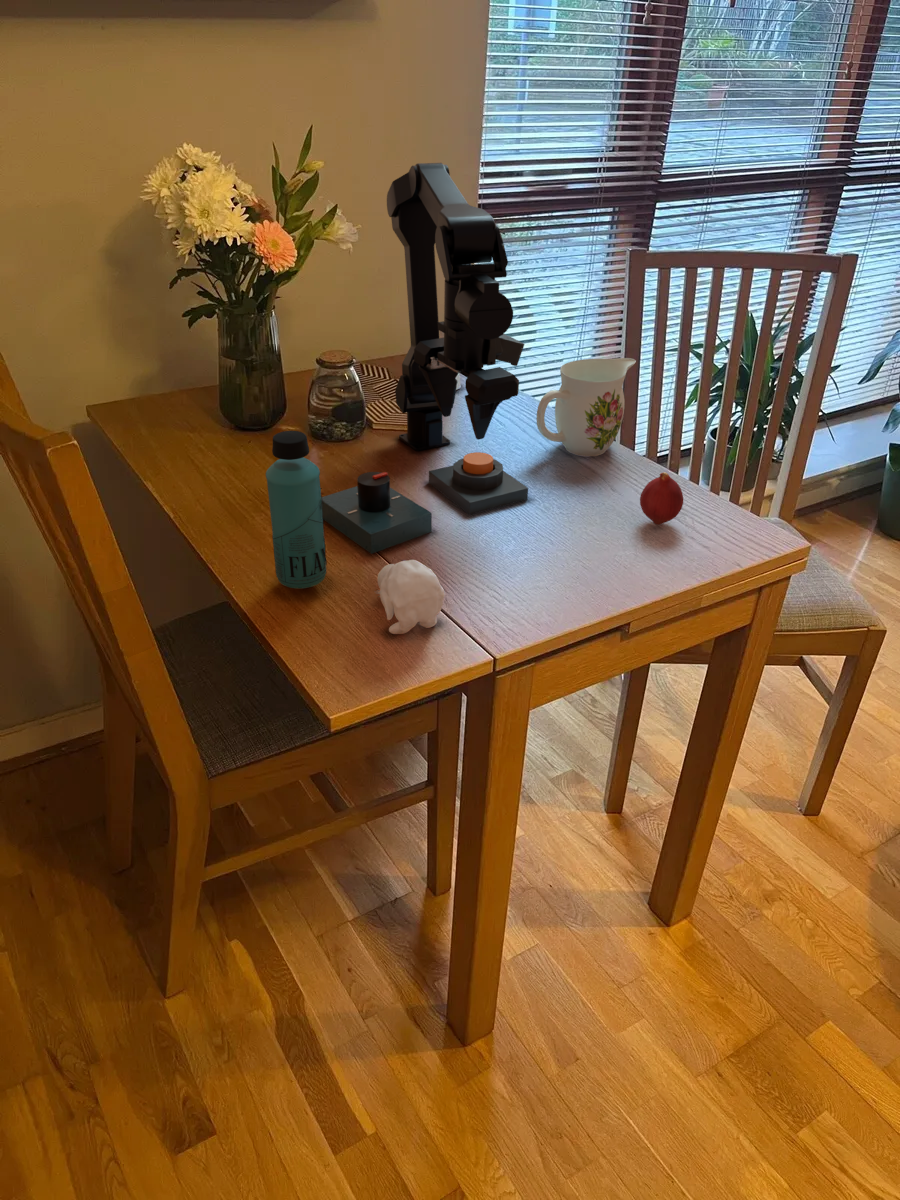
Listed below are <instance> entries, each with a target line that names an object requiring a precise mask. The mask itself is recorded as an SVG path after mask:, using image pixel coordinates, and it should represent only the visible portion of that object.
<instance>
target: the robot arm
mask: <svg viewBox="0 0 900 1200" xmlns="http://www.w3.org/2000/svg"><path fill="white" fill-rule="evenodd" d="M450 174H451V173H450V169H449V166H448V165H447V164H443V163H442V162H422V163H421V162H419V163H416V164H415V165H411V166H410V167H409V170H408V172H406V173H404V174H403V175H400V176H399V177H398V178H396V179H394V180H393V181H392V182H391V184H390V186H389V189H388V191H387V194H386V210H387V214H388V217H389V218H391V228H392V230H393V232H394V234H395V235H396V237H397V238H398V240H399V242H400V243H401V245H402V246H403V249H404V263H405V277H406V279H405V280H406V293H407V306H408V307H407V309H408V322H409V339H410V347H409V348H408V350H407V353H406V355H405V357H404V359H403V361H402V363H401V371H402V372H401V373H402V374H401V375H400V376H399V379H398V382H397V384H396V387H395V391H394V394H395V403H396V405H397V407H398V408H399V409H400V411H401V413H402V414H406V429H407V430H406V432H405V433H402V434H399V435H398V439H399V440H401V441H402V442H403V443H405V444H406V445H407V446H409V447H410V448H411V449H413V450H414V451H416V452H421V451H425V450H430V449H434V448H439V447H442V446H447V445H451V440H450V439H449V438H447V437H446V436H444V435H443V430H444V429H443V425H444V424H443V418H447V417H450V416H451V415H452V409H454V404H455V399H456V393H457V390H456V387H457V380H456V379H455V378H456V376H457V375H458V373H460V375H462V376H464V377H465V378H466V379H465V385H464V386H465V387H464V388H465V390H466V395H464V399H465V404H466V408H467V411H468V415H469V418H470V423H471V426H472V429H473V430H472V431H473V433H474V437H475V439H476V440H482V439H484V438H485V436H486V434H487V431H488V429H489V426H490V424H491V422H492V419H493V416H494V414H495V413H496V410H497V408H498V407H499V405H500V404H501V403H502V402H504V401H508V400H511V398H512V397H517V396H519V389H520V380H519V378H518V377H517V376H516V375H514V374H513V373H511V372H510V371H508V370H506V369H504V368H502V367H501V366H498V367H492V368H487V369H484V366H488V367H489V366H494V365H496V362H497V361H499V362H502V363H503V362H504V363H508V364H510V365H511V366H512V367H513V366H514V367H517V366H518V365H519V361H520V359H521V356H522V353H523V350H524V348H525V343H524V342H521V340H518V339H516V338H514V337H512V336H509V335H507V334H505V333H506V332H508V330H509V329H510V327H511V326H512V323H513V318H514V310H513V307H512V303H511V301H510V300H509V299H508V297H506V295H504V294H503V293H502V292H501V291H500V282H499V281H498V280H496V279H500V278H501V279H502V278H507V276H508V273H507V266H508V264H509V261H508V257H507V256H508V255H507V252H506V248H505V243H504V239H503V236H502V233H501V232H500V228H499V225H498V223H496V221H495V219H494V217H493V216H492V215H491V214H490V213H489V212H487V211H486V210H485V209H484V208H480V207H476V206H473V205H470V204H469V202H467V199H466V198H465V197H464V195H463V194H462V192H461V190H460V189H459V188H458V186H457V184H456V183H455V182H454V180H453V179H452V177H451V176H450ZM435 250H436V251H435ZM436 254H437V257H438V260H439V264H440V267H441V271H442V275H443V278H444V297H443V298H444V303H443V304H444V305H443V312H444V314H443V320H441V321H439V304H438V303H439V302H438V289H437V288H438V287H437V269H436ZM492 262H493V263H492ZM440 331H441V332H443V333H444V338H440Z"/></svg>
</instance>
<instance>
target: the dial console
mask: <svg viewBox="0 0 900 1200" xmlns="http://www.w3.org/2000/svg"><path fill="white" fill-rule="evenodd" d="M321 499H322V500H323V501H322V500H321V502H322V503H323V504H322V505H323V508H322V516H323V515H324V516H323V519H324V520H323V521H324V522H326V523H327V524H329V525H330V526H332V527H333V528H335V529H336V530H337V531H338V532H340V533H342V535H344V536H346V537H347V538H349V539H350V540H351V541H353V542H354V543H356V544H357V545H359V546H360V547H361V548H362V549H364V550H366V551H367V552H368V553H369V554H371V555H373V554H374V553H378V552H381V551H384V550H386V549H388V548H391V547H394V546H396V545H397V546H398V545H399V544H400V545H401V544H402V543H405V542H409V541H410V540H413V539H417V538H418V537H422V536H424V535H426V534H430V533H432V530H433V529H432V527H433V522H432V520H433V519H432V517H433V516H432V513H433V512H431V511H429V510H428V509H427V508H424V507H423V506H421V505H419V504H418V503H417V502H415V501H413V500H411V499H410V498H408V497H406V496H405V495H403V494H402V493H401V492H399V491H397V490H395V489H394V488H392V487H390V507H389V508H388V509H386V510H384V511H381V512H367V511H364V510H362V509H360V508H359V506H358V486H357V485H356V486H353V487H350V488H346V489H344V490H341V491H337V492H334V493H330V494H328V495H325V496H322V498H321ZM323 511H324V512H323Z"/></svg>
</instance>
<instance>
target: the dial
mask: <svg viewBox="0 0 900 1200" xmlns="http://www.w3.org/2000/svg"><path fill="white" fill-rule="evenodd" d="M356 482H357V483H356V484H357V485H356V486H358V506H359V508H360V509H362V510H364V511H367V512H381V511H384V510H386V509H388V508H389V507H390V488H391V478H390V476H389V473H388V472H386V471H384V472H381V471H380V472H379V471H368V472H364V473H361V474H360V475H359V476H357V478H356Z"/></svg>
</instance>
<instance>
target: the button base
mask: <svg viewBox="0 0 900 1200" xmlns="http://www.w3.org/2000/svg"><path fill="white" fill-rule="evenodd" d="M428 484H429V485H430V486H432V487H434V489H436V490H438V491H439V492H440V493H441V494H442V495H443V496H445V497H446V498H447V499H449V500H450V501H451V502H452V503H453V504H455V505H456V506H458V507H459V508H460V509H461V510H463V511H464V512H465V513H466V514H467V515H470V516H471V515H474V514H477V513H478V514H479V513H482V512H486V511H490V510H493V509H499V508H502V507H505V506H509V505H513V504H517V503H521V502H524V501H528V496H529V487H528V486H526V485H525V484H523V483H522V482H521V481H519V480H518V479H516V478H514V477H513V476H512V475H510V474H509V473H507V472H506V471H504V465H503V463H501V462H500V461H499V460H497V459H494V458H493V471H492V472H491V473H487V474H472V473H468V472H465V471H464V470H463V458H460V459H458V460H457V461H455V462H454V463H453V464H452V465H449V466H445V467H440V468H436V469H432V470H429V471H428Z"/></svg>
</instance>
